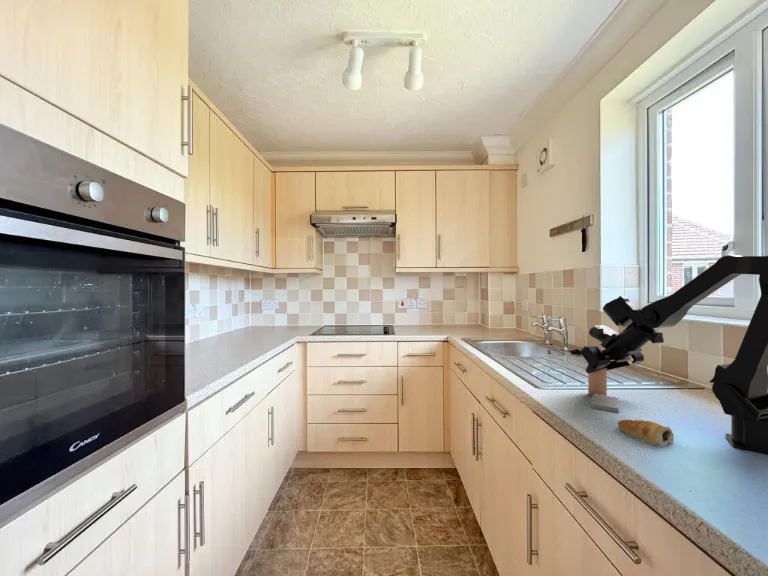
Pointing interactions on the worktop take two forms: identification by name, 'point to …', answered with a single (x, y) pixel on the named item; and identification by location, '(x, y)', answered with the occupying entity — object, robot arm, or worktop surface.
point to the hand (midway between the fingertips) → (593, 371)
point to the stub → (597, 382)
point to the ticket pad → (604, 402)
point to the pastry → (647, 432)
